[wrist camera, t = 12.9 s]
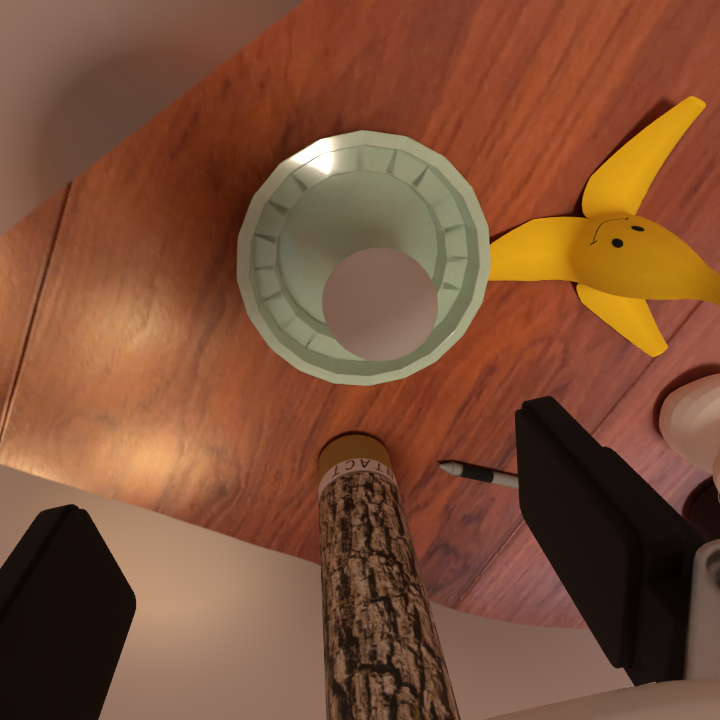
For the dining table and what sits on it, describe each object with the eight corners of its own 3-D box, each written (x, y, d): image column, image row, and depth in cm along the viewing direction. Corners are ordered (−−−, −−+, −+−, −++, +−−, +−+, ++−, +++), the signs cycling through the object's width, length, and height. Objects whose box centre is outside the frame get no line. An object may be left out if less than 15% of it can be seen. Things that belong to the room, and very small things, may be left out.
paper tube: (377, 495, 47) (446, 827, 24) (309, 484, 45) (314, 827, 23) (398, 437, 44) (496, 748, 21) (326, 424, 43) (351, 742, 20)
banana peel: (447, 259, 37) (545, 339, 22) (666, 93, 34) (956, 54, 19) (543, 400, 44) (670, 536, 29) (736, 271, 40) (994, 349, 25)
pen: (576, 497, 50) (583, 506, 48) (432, 466, 46) (435, 474, 45) (583, 487, 49) (589, 496, 48) (437, 455, 45) (440, 463, 44)
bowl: (218, 159, 33) (200, 163, 28) (452, 111, 33) (480, 105, 28) (279, 370, 40) (275, 406, 35) (471, 329, 40) (497, 358, 35)
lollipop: (300, 259, 36) (297, 332, 22) (351, 196, 34) (381, 232, 21) (362, 309, 38) (394, 403, 24) (413, 251, 36) (477, 317, 23)
